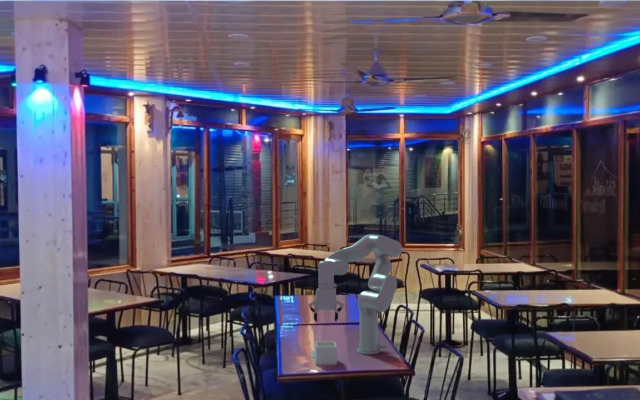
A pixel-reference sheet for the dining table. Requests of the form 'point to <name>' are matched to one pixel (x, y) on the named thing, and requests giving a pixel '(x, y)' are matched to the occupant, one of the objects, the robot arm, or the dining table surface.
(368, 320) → the robot arm
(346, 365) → the dining table surface
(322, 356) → the storage box
